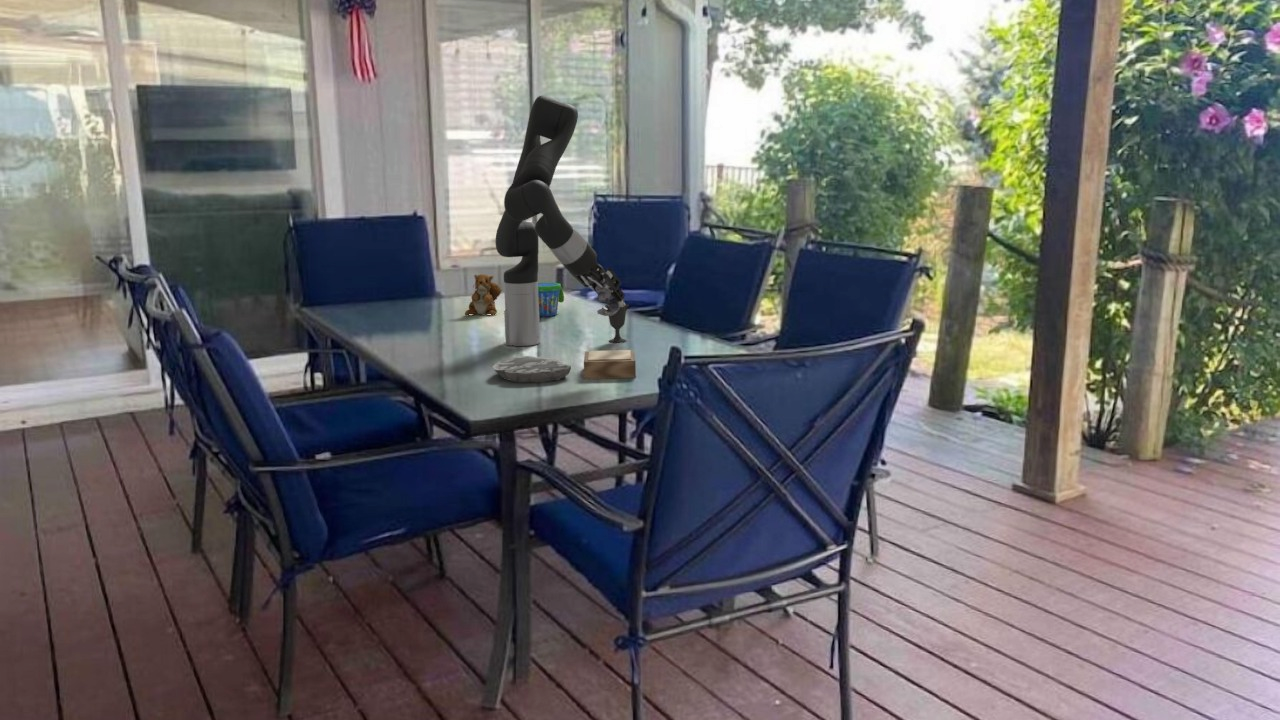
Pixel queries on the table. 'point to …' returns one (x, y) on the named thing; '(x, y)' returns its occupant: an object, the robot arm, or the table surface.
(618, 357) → the plinth
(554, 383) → the table surface
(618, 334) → the sundae
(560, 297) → the snack cup
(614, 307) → the grey figurine
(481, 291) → the stuffed squirrel
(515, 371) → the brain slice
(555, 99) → the robot arm
